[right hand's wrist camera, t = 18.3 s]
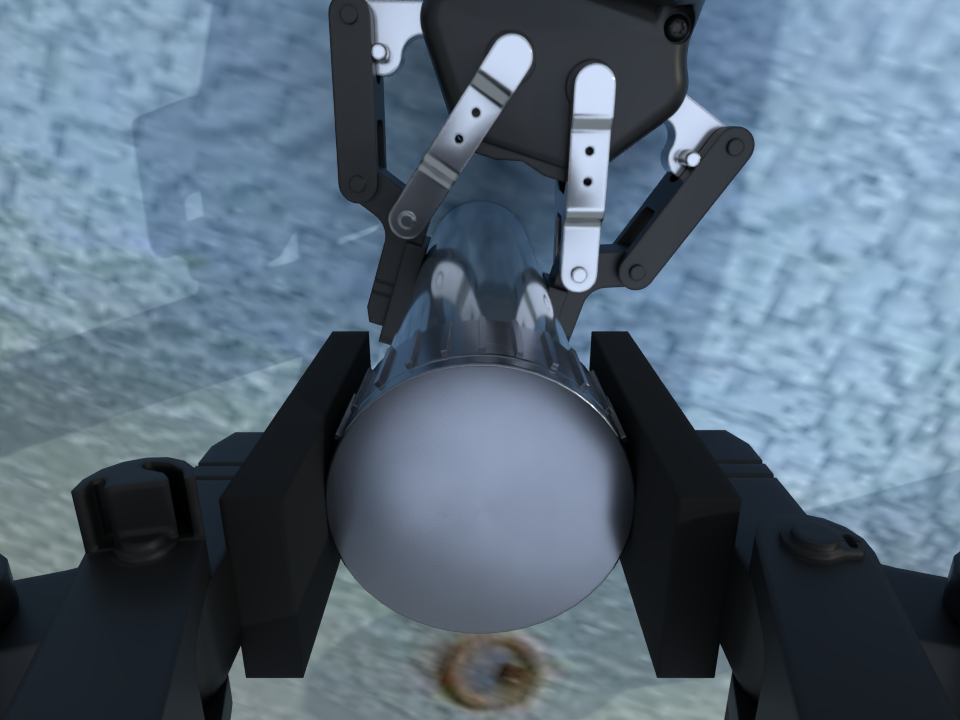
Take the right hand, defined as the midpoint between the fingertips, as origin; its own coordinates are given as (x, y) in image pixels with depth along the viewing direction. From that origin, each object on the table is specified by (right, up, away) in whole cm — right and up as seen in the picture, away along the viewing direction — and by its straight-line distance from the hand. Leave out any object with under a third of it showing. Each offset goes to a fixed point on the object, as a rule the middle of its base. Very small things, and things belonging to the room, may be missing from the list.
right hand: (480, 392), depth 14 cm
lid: (0, -1, -4) cm, 4 cm away
